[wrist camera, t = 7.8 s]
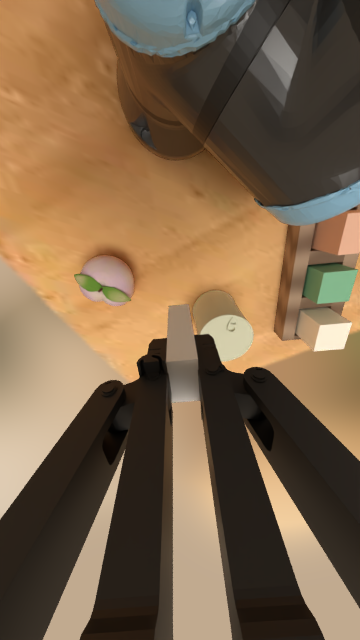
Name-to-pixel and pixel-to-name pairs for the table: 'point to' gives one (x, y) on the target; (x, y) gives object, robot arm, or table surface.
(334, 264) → the green block
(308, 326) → the cream block
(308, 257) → the walnut board
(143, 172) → the table surface
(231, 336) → the can
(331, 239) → the terracotta block
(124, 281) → the decorative fruit
